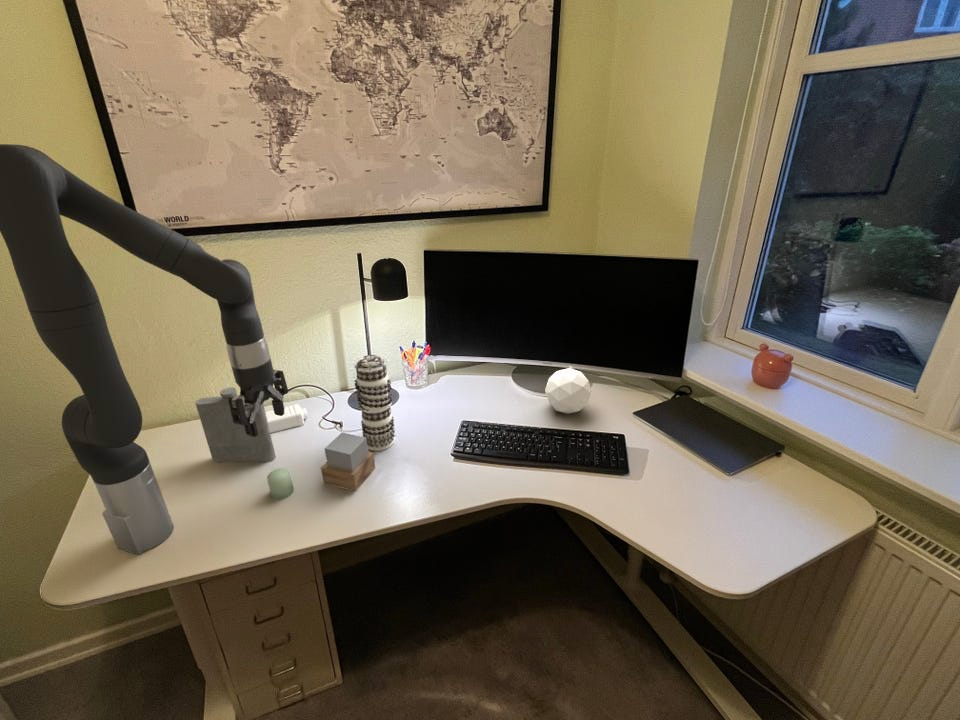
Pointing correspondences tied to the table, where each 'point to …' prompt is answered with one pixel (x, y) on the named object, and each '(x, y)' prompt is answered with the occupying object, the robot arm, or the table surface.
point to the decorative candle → (375, 402)
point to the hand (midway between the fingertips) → (267, 424)
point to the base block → (349, 474)
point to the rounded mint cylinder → (280, 483)
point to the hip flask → (233, 431)
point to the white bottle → (286, 418)
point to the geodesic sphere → (568, 390)
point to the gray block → (346, 451)
